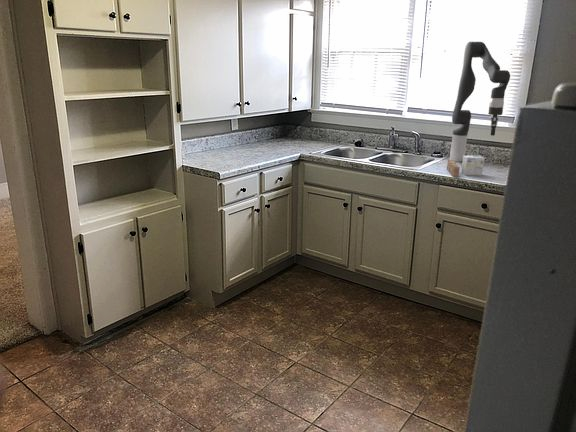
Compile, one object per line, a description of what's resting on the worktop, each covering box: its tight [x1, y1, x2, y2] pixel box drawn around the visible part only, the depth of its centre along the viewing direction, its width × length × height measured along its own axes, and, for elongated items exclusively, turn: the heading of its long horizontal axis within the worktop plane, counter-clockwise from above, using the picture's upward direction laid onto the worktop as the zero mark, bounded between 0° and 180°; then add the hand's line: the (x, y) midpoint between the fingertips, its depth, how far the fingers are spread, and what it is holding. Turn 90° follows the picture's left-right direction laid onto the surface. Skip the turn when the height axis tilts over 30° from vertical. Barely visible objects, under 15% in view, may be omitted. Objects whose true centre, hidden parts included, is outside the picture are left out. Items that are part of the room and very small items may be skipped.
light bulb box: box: [460, 155, 485, 176], centre depth 283 cm, size 11×7×11 cm, turn 92°
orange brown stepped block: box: [446, 159, 461, 178], centre depth 285 cm, size 20×3×6 cm, turn 173°
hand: (492, 134), depth 281 cm, fingers open, 8 cm apart
